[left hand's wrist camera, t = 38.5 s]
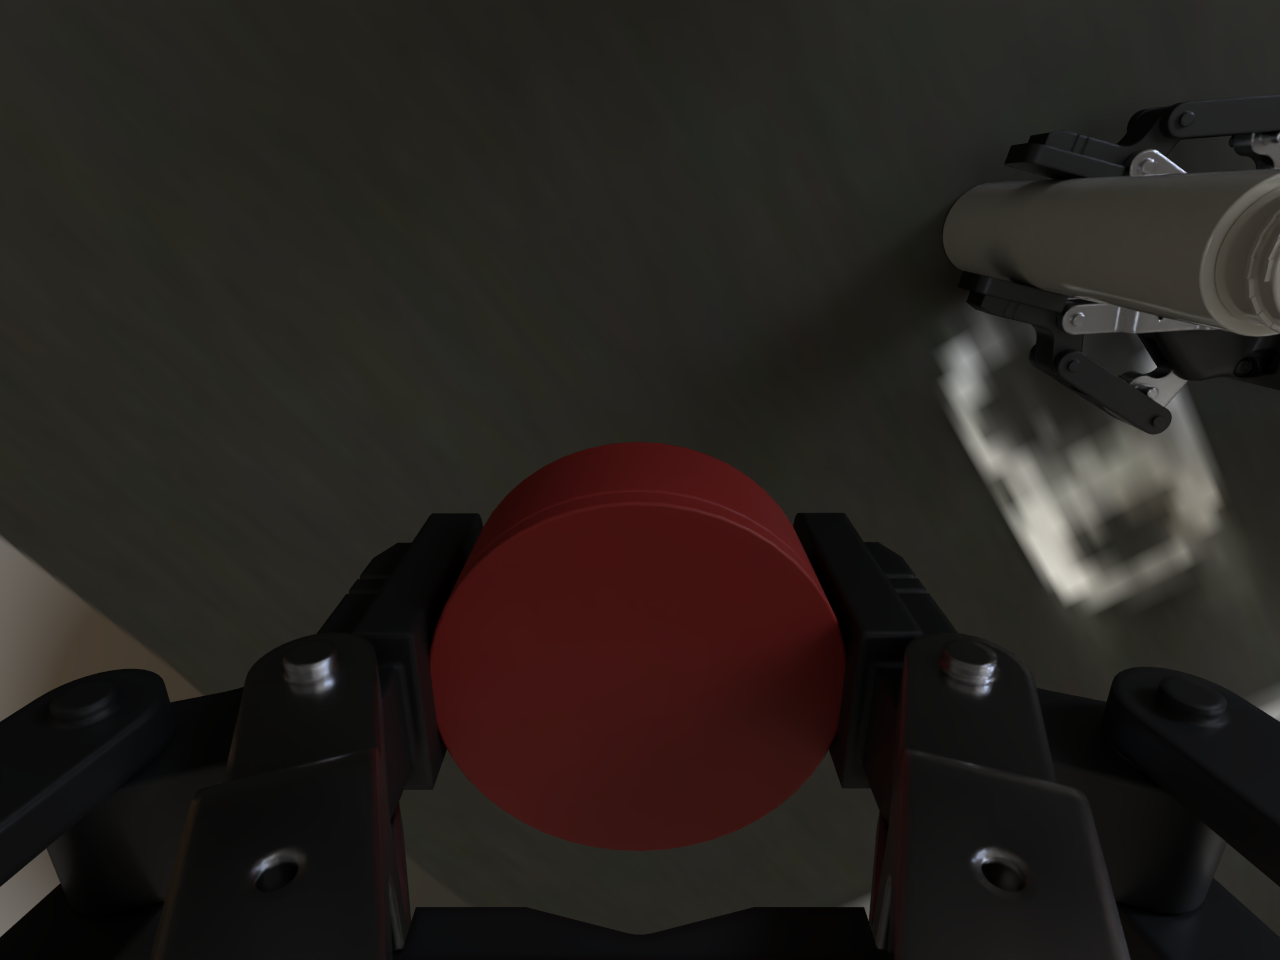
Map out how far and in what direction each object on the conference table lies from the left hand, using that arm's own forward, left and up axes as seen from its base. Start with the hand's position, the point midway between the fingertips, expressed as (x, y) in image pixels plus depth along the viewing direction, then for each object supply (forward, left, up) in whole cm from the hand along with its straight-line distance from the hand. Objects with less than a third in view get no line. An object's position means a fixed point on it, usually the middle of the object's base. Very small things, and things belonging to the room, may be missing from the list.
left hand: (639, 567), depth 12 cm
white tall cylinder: (-3, +17, -26) cm, 32 cm away
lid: (0, 0, +3) cm, 3 cm away
